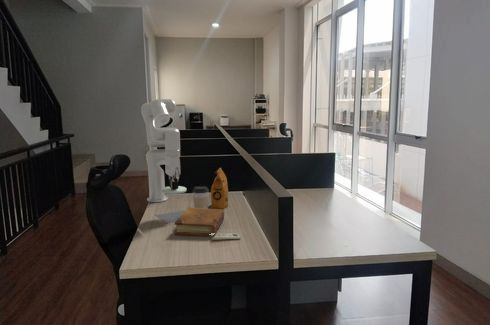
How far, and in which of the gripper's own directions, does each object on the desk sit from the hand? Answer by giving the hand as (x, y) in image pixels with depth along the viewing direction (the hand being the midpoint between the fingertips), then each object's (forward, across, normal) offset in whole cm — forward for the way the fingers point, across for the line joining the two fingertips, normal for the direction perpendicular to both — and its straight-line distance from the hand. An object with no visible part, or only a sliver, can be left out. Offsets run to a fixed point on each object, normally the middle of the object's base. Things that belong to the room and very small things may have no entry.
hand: (173, 187), depth 194 cm
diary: (+15, +22, +5) cm, 27 cm away
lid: (+2, 0, 0) cm, 2 cm away
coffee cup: (+16, +1, +15) cm, 22 cm away
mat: (+16, +1, 0) cm, 16 cm away
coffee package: (+17, -6, +30) cm, 35 cm away
